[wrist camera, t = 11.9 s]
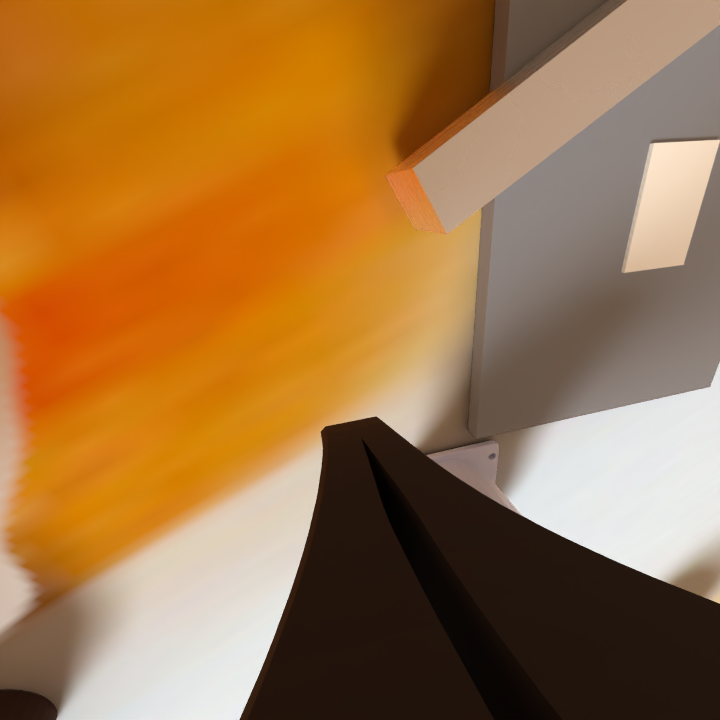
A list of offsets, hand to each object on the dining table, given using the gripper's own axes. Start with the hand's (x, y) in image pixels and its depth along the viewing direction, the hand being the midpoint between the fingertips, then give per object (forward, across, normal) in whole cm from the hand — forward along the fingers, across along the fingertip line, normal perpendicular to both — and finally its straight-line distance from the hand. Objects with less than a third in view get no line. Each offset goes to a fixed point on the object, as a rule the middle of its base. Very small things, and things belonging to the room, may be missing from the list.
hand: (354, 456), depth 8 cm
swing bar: (+9, -12, -10) cm, 18 cm away
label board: (+10, -18, -4) cm, 21 cm away
